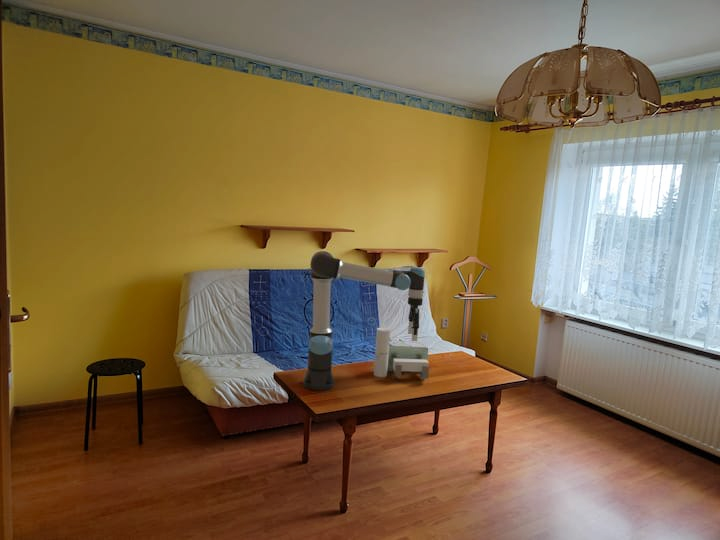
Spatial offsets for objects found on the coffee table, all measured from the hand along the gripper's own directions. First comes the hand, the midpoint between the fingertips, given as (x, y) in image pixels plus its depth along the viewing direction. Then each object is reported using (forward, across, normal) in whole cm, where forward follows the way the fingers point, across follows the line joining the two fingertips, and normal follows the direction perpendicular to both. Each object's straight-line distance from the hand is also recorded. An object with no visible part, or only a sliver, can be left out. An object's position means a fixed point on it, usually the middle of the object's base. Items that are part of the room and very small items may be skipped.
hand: (412, 337), depth 243 cm
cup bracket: (+23, +3, 0) cm, 23 cm away
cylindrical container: (+23, +4, +15) cm, 28 cm away
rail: (+18, 0, 0) cm, 18 cm away
